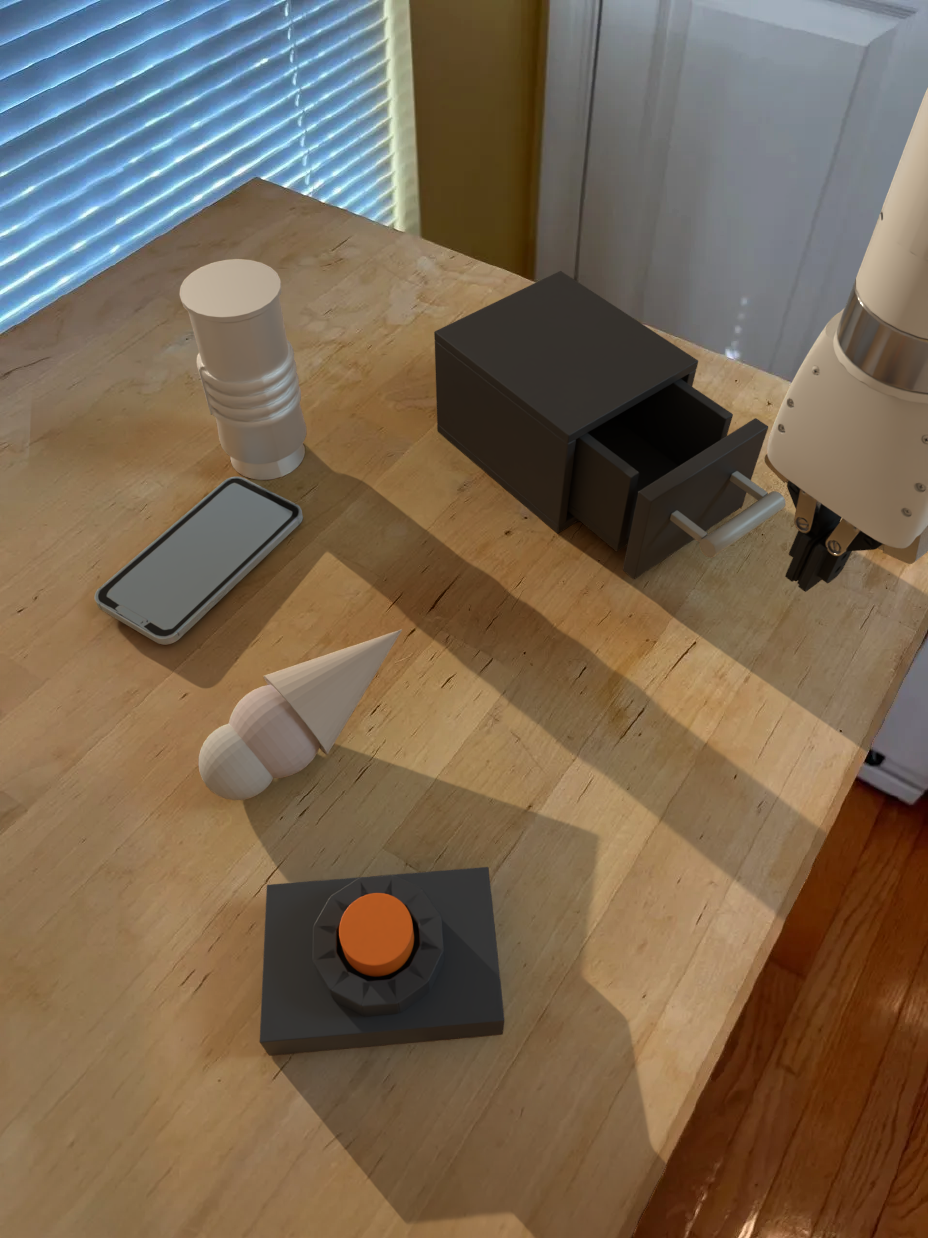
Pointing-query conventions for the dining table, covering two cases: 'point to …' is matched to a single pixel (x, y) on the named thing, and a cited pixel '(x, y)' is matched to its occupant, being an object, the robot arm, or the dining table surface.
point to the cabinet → (544, 384)
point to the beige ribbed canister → (247, 365)
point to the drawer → (669, 478)
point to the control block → (385, 1005)
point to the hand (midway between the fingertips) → (809, 573)
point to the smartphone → (198, 560)
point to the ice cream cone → (289, 719)
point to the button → (376, 934)
